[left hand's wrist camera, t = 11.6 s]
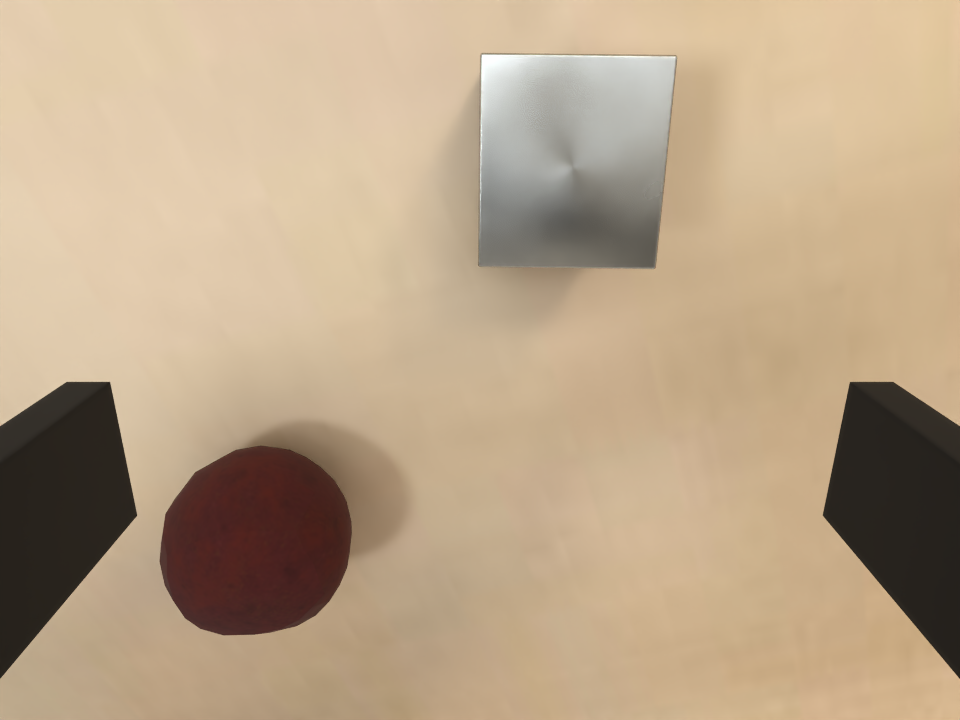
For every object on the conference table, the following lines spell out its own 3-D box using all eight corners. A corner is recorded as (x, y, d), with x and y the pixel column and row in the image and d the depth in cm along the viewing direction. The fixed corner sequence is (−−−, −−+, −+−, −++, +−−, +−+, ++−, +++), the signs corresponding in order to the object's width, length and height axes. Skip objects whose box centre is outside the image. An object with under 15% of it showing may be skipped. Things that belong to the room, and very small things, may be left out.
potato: (385, 542, 32) (358, 655, 26) (231, 575, 33) (167, 693, 26) (334, 403, 30) (291, 489, 23) (169, 442, 30) (82, 536, 24)
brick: (480, 221, 27) (478, 267, 19) (482, 68, 25) (480, 52, 18) (608, 223, 27) (655, 269, 19) (619, 70, 25) (678, 55, 17)
